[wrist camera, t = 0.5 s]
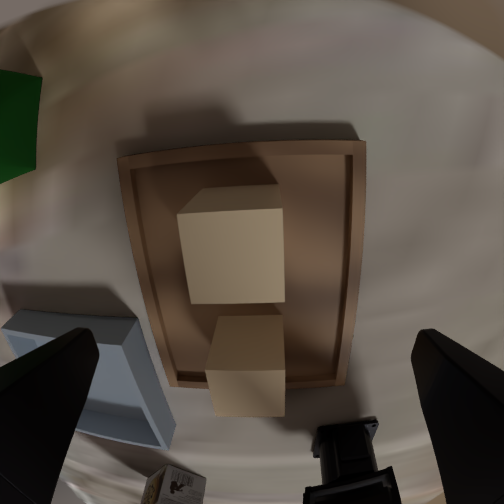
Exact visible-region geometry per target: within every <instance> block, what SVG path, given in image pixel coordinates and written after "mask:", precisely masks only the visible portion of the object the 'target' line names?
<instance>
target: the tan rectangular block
mask: <svg viewBox="0 0 504 504" xmlns="http://www.w3.org/2000/svg"><path fill="white" fill-rule="evenodd" d="M177 220H178V227H179V234H180V241H181V247H182V254H183V260H184V266H185V272H186V278H187V283H188V289H189V295H190V300H191V304H237V303H275V302H285V280H284V239H283V208H282V202H281V195H280V189H279V184H268V185H248V186H231V187H216V188H203V189H202V190H201V191H199V192H198V193H197V194H196V195H195V196H194V197H193V198H192V199H191V200H190V201H189V202H188V203H187V204H186V205H185V206H184V207H183V208H182V209H181V210H180V211H179V212H178V213H177Z"/></svg>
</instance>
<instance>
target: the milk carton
mask: <svg viewBox="0 0 504 504" xmlns="http://www.w3.org/2000/svg"><path fill="white" fill-rule="evenodd" d="M41 84H42V77H37V76H32V75H27V74H22V73H17V72H12V71H6V70H1V69H0V184H1V183H4V182H6V181H8V180H10V179H13V178H15V177H18V176H20V175H22V174H25V173H27V172H30V171H33V170H35V169H36V138H37V121H38V110H39V100H40V92H41Z"/></svg>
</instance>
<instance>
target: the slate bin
mask: <svg viewBox="0 0 504 504" xmlns="http://www.w3.org/2000/svg"><path fill="white" fill-rule="evenodd" d="M77 327H84V328H89V329H90V330H91V331H92V333H93V335H94V338H95V341H96V343H97V346H98V349H99V353H100V356H99V361H98V364H97V367H96V370H95V374H94V377H93V380H92V384H91V387H90V390H89V394H88V397H87V400H86V403H85V406H84V408H83V411H82V413H81V416H80V418H79V421H78V424H77V426H76V429H75V431H79V432H82V433H86V434H90V435H93V436H97V437H101V438H105V439H110V440H114V441H118V442H123V443H128V444H133V445H138V446H144V447H149V448H155V449H162V450H169V448H170V444H171V441H172V437H173V434H174V430H175V427H176V424H175V421H174V419H173V416H172V414H171V411H170V409H169V406H168V404H167V401H166V399H165V396H164V394H163V391H162V388H161V386H160V383H159V380H158V378H157V375H156V372H155V369H154V366H153V363H152V361H151V358H150V355H149V352H148V349H147V346H146V342H145V339H144V336H143V333H142V330H141V326H140V323H139V320H138V318H127V317H107V316H91V315H77V314H64V313H53V312H42V311H33V310H23V309H20V310H19V311H18V312H17V313H16V314H15V315H14V316H13V317H12V318H11V319H9V320H8V321H7V322H6V323H5V324H4V325H3V326H2V327H1V330H2V332H3V334H4V336H5V338H6V340H7V342H8V344H9V346H10V348H11V350H12V352H13V354H14V355H15V357H16V359H17V358H19V357H21V356H23V355H24V354H26V353H28V352H30V351H32V350H34V349H36V348H38V347H40V346H42V345H44V344H46V343H47V342H49V341H51V340H53V339H55V338H57V337H59V336H61V335H63V334H65V333H67V332H69V331H71V330H73V329H74V328H77Z"/></svg>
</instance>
